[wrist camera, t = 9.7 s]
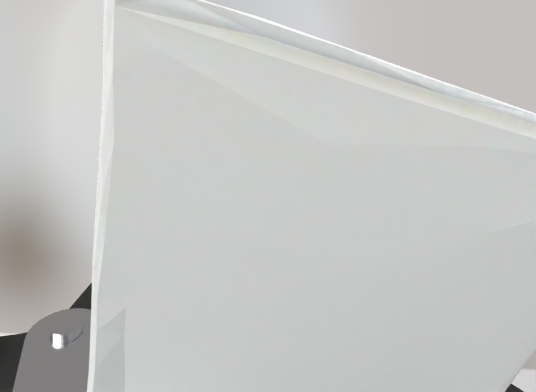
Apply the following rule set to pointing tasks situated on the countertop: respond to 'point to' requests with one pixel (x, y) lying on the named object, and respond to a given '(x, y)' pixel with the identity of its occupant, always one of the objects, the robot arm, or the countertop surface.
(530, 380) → the countertop surface
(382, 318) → the skincare box
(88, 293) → the robot arm
